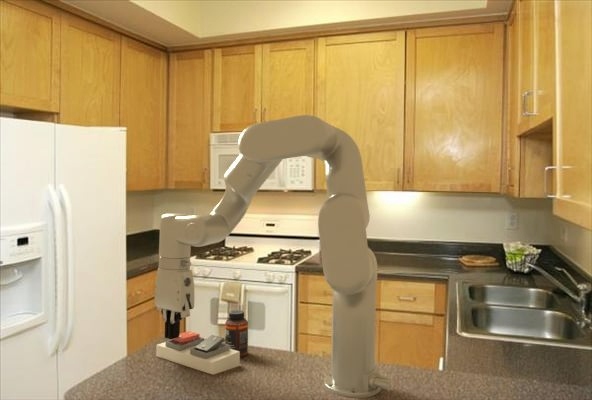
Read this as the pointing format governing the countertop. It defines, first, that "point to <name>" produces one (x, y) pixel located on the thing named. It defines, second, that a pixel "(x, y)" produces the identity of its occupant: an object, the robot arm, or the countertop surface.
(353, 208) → the robot arm
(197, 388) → the countertop surface
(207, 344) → the black rocker
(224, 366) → the rocker switch panel
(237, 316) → the supplement bottle
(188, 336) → the red rocker
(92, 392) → the countertop surface
